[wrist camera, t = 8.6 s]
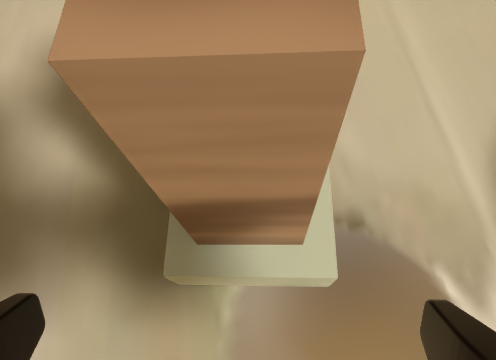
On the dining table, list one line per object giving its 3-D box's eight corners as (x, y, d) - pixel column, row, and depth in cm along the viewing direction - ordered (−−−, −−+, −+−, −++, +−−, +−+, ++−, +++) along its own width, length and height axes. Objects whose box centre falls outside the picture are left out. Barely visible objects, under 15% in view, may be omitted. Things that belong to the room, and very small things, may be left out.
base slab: (328, 286, 19) (337, 277, 16) (178, 284, 19) (162, 276, 17) (319, 151, 22) (326, 125, 19) (190, 153, 23) (179, 127, 20)
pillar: (302, 244, 17) (365, 50, 5) (197, 244, 17) (47, 60, 6) (298, 150, 19) (338, -138, 7) (204, 152, 19) (102, -121, 8)
